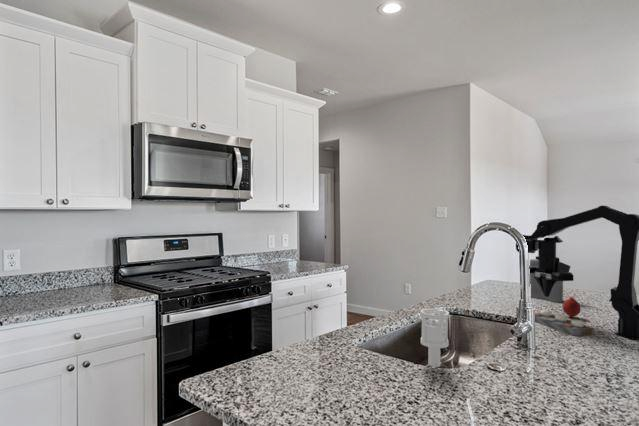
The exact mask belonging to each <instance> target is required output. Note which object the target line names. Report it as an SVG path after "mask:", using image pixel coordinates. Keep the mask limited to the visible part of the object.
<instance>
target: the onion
mask: <svg viewBox="0 0 639 426" xmlns="http://www.w3.org/2000/svg"><path fill="white" fill-rule="evenodd" d="M568 297H569V298H568V299H566V300H565V301H564V302H562V303H563V304H562V310H563V313H564V314H566V316H567V317H569V318H574V317H576V316H578V315H579V314H580V312H581V305H580V304H579V303H580V302H578V301H577V300H576V299H575V298H573V296H568Z"/></svg>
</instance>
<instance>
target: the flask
mask: <svg viewBox="0 0 639 426" xmlns="http://www.w3.org/2000/svg"><path fill="white" fill-rule="evenodd" d="M560 262H561V261H560ZM561 263H563V262H561ZM529 266H538V259H536V258H535V259H533V258H531V259H529ZM534 276H535V273H530V274H529V285H530V284H531V297H530V298H532V299H540V300H542V301H543V300H544V301H549V302H552V303H558V304H559V303H564V302H563V299H564V298H563V295H564V281H557V282H556V283H555V284H554V285H553V288H552V290H551V292H550V295H549V297H545V296H544V294H543V292H542V290H541V288H540V286H539V284H538V282H537V281H536V279H535V278H534Z"/></svg>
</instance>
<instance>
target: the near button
mask: <svg viewBox="0 0 639 426" xmlns="http://www.w3.org/2000/svg"><path fill="white" fill-rule="evenodd" d="M571 324H572V325H573V327H576V328H582V327H584V325H585V322H584V321H583V320H579V319H571Z"/></svg>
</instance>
